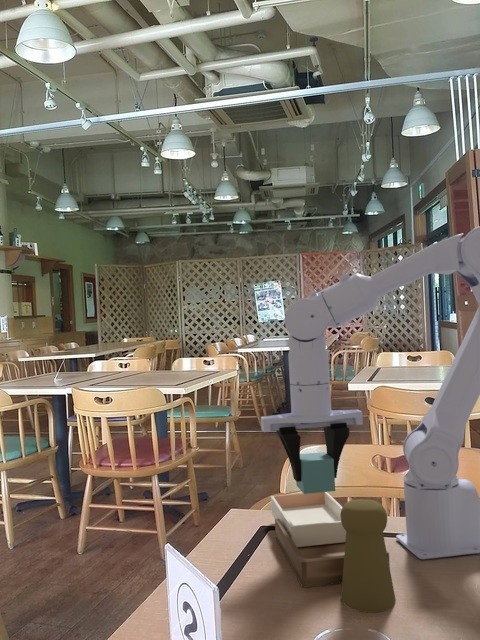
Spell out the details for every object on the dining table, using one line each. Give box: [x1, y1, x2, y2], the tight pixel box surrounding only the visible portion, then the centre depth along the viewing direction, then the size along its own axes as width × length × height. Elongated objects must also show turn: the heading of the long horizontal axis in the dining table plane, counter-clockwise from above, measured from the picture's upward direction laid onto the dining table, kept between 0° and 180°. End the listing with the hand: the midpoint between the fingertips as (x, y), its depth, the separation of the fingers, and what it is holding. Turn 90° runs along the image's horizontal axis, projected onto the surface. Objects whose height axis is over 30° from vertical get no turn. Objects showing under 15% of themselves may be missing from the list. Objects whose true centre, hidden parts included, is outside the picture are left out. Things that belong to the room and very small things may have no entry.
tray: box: [270, 492, 346, 547], centre depth 86 cm, size 9×15×3 cm, turn 8°
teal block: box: [295, 451, 336, 494], centre depth 82 cm, size 4×4×4 cm
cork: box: [340, 498, 397, 613], centre depth 65 cm, size 6×6×11 cm
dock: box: [274, 518, 391, 588], centre depth 77 cm, size 11×16×3 cm
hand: (314, 478), depth 82 cm, fingers closed on teal block, 4 cm apart
